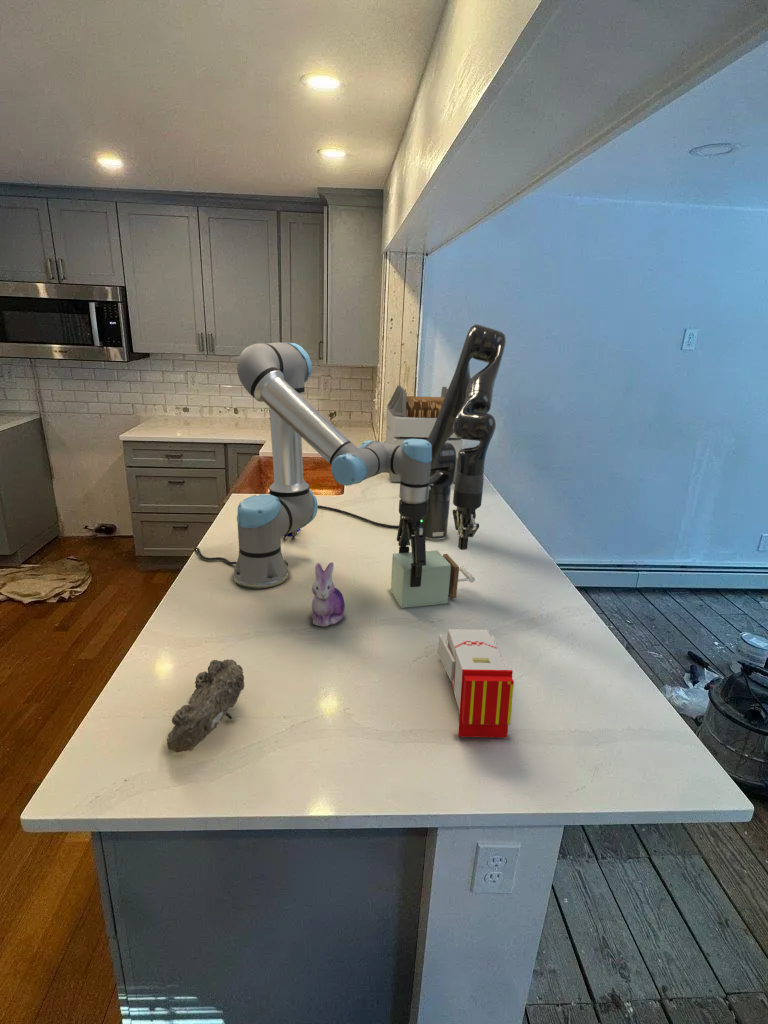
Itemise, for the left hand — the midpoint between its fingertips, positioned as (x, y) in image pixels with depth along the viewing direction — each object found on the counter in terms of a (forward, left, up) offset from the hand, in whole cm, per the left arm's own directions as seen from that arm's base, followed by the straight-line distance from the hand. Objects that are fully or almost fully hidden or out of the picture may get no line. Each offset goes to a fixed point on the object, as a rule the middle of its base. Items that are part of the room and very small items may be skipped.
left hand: (408, 577), depth 154 cm
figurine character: (-46, +34, -6) cm, 57 cm away
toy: (+19, -37, -6) cm, 42 cm away
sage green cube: (+3, +2, -6) cm, 7 cm away
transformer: (-12, +126, -6) cm, 127 cm away
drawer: (+8, +4, -5) cm, 11 cm away
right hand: (+14, +7, +7) cm, 17 cm away
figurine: (-18, -16, -6) cm, 25 cm away
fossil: (-29, -56, -6) cm, 64 cm away
